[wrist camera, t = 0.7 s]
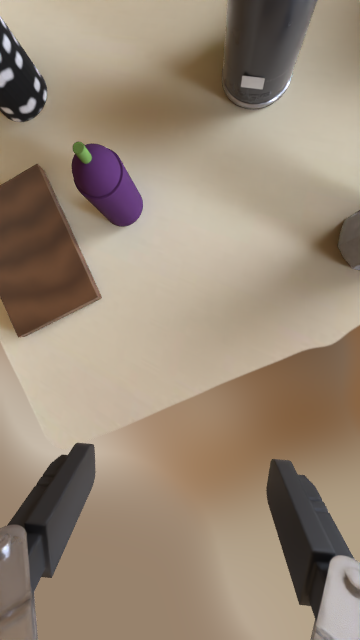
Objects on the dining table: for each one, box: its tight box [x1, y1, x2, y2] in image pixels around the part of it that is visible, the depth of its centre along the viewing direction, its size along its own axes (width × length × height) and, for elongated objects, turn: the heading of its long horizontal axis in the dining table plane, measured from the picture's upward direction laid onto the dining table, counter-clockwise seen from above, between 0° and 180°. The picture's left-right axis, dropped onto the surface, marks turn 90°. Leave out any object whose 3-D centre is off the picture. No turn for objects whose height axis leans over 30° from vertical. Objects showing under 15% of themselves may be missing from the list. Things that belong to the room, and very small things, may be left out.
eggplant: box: [72, 142, 143, 226], centre depth 30 cm, size 6×6×13 cm
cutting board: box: [0, 164, 102, 337], centre depth 38 cm, size 22×14×2 cm, turn 25°
